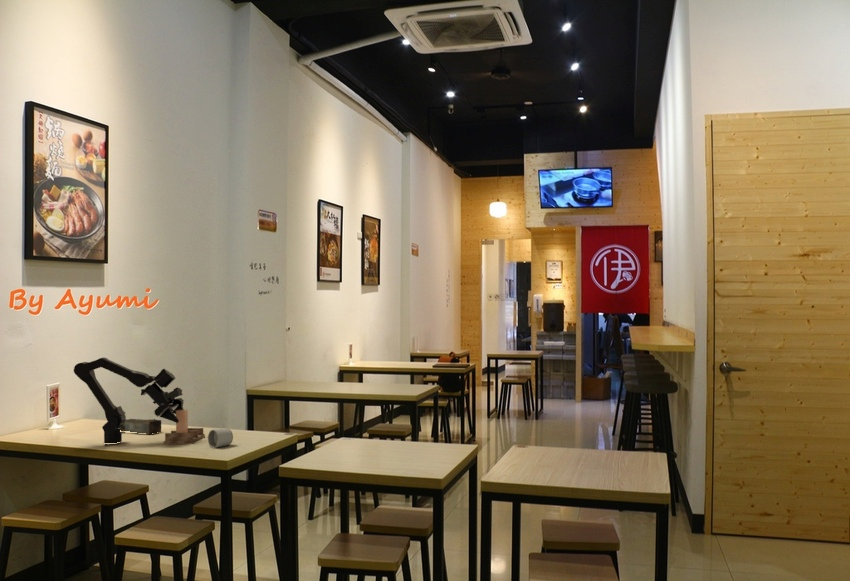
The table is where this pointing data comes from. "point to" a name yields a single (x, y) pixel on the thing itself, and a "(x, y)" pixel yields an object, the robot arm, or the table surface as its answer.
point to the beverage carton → (141, 426)
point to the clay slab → (182, 421)
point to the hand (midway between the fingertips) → (182, 420)
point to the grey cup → (220, 437)
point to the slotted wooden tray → (184, 436)
